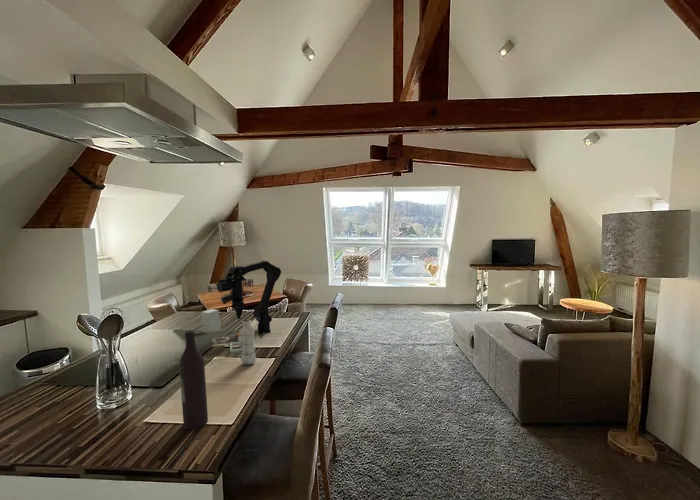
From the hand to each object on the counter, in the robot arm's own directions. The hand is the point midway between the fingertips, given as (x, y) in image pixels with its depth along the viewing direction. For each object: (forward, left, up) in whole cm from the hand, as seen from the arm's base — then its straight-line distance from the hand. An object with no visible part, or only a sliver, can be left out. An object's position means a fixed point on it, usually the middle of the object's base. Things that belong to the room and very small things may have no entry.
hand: (238, 316), depth 188 cm
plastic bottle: (-3, +38, -13) cm, 40 cm away
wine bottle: (+15, +81, -13) cm, 83 cm away
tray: (-1, +18, -12) cm, 22 cm away
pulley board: (+5, +5, -12) cm, 14 cm away
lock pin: (-1, +18, -12) cm, 22 cm away
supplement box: (+16, -22, -13) cm, 30 cm away
